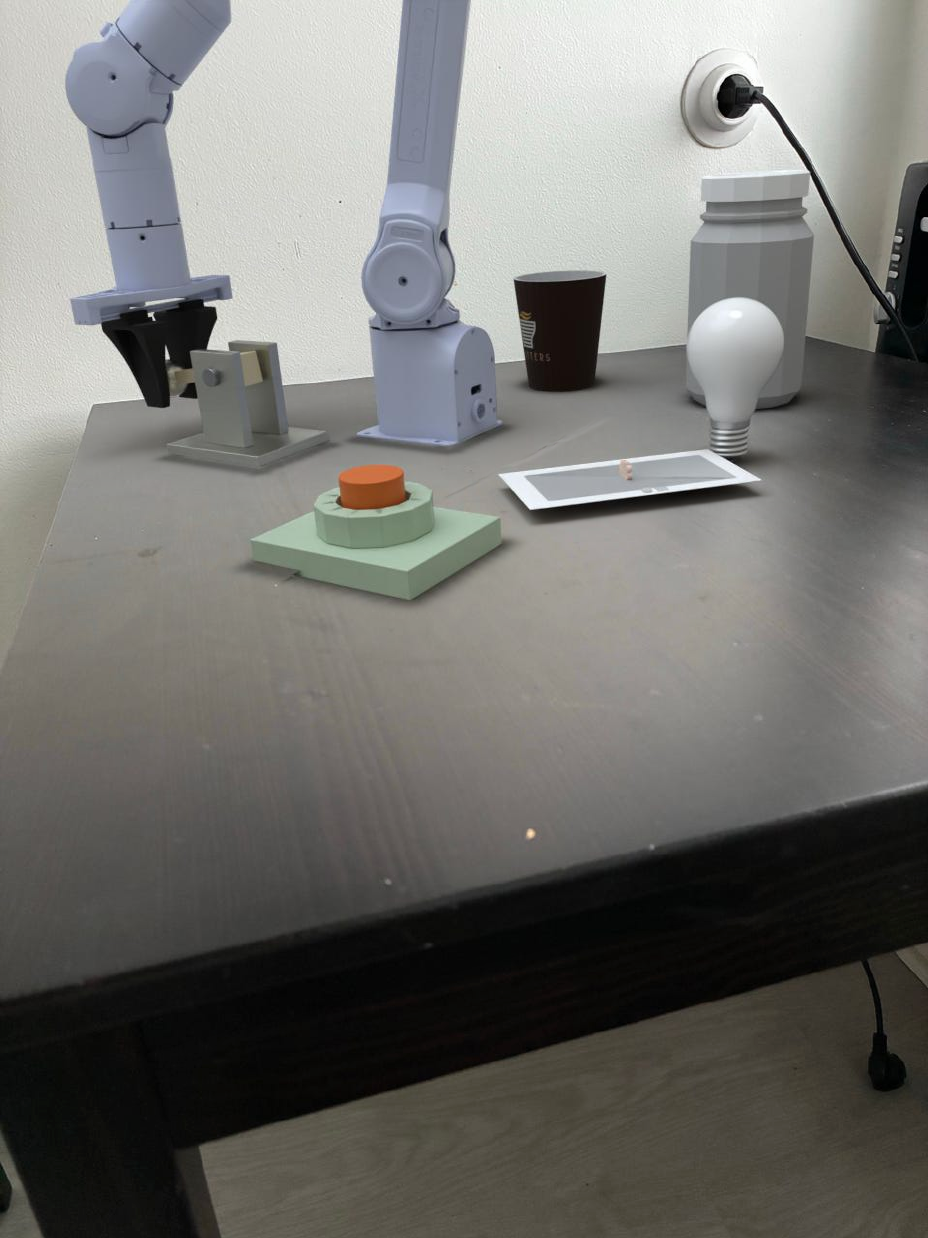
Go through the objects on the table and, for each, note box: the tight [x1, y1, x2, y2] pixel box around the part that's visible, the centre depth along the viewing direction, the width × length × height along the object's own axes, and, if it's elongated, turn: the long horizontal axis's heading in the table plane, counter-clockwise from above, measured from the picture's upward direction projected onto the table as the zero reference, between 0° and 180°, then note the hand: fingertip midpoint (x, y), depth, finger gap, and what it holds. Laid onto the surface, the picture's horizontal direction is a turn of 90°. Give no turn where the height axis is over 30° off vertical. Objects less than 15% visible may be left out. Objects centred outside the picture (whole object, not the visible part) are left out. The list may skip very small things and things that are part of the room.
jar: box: [685, 169, 815, 410], centre depth 83 cm, size 10×10×18 cm
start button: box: [338, 464, 406, 510], centre depth 55 cm, size 4×4×2 cm
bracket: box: [166, 339, 330, 468], centre depth 78 cm, size 10×8×8 cm
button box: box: [250, 480, 502, 601], centre depth 56 cm, size 11×9×4 cm
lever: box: [166, 351, 263, 398], centre depth 79 cm, size 11×3×3 cm, turn 57°
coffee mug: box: [513, 269, 607, 392], centre depth 96 cm, size 12×9×10 cm
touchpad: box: [498, 448, 763, 511], centre depth 64 cm, size 8×15×2 cm, turn 102°
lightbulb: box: [685, 297, 784, 462], centre depth 68 cm, size 6×6×11 cm
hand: (175, 401), depth 82 cm, fingers closed on lever, 3 cm apart
